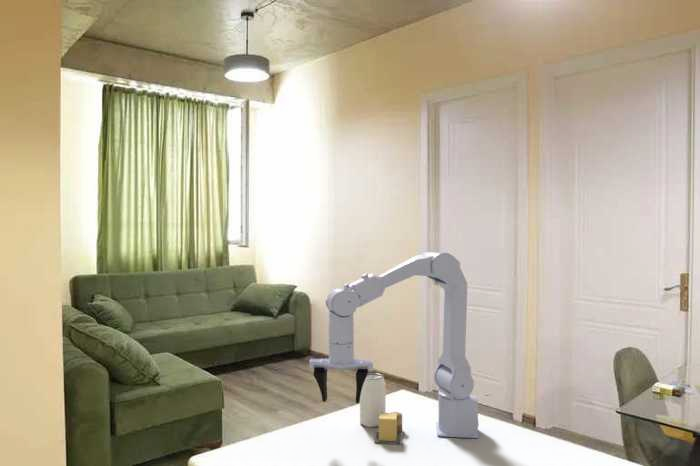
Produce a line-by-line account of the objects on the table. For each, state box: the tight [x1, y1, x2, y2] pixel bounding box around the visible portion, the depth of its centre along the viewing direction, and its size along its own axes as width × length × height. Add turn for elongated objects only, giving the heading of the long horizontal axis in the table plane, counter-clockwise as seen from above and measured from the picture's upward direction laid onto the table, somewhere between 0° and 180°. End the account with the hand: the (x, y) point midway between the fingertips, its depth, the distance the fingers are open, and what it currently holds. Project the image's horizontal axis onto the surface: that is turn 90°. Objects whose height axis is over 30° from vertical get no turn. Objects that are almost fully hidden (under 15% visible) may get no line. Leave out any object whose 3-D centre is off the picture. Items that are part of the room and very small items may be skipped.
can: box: [359, 372, 386, 428], centre depth 135 cm, size 6×6×12 cm
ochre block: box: [378, 412, 397, 441], centre depth 125 cm, size 4×4×5 cm
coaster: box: [374, 431, 402, 445], centre depth 125 cm, size 6×6×1 cm
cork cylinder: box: [391, 411, 403, 434], centre depth 130 cm, size 3×3×4 cm
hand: (341, 401), depth 122 cm, fingers open, 7 cm apart
